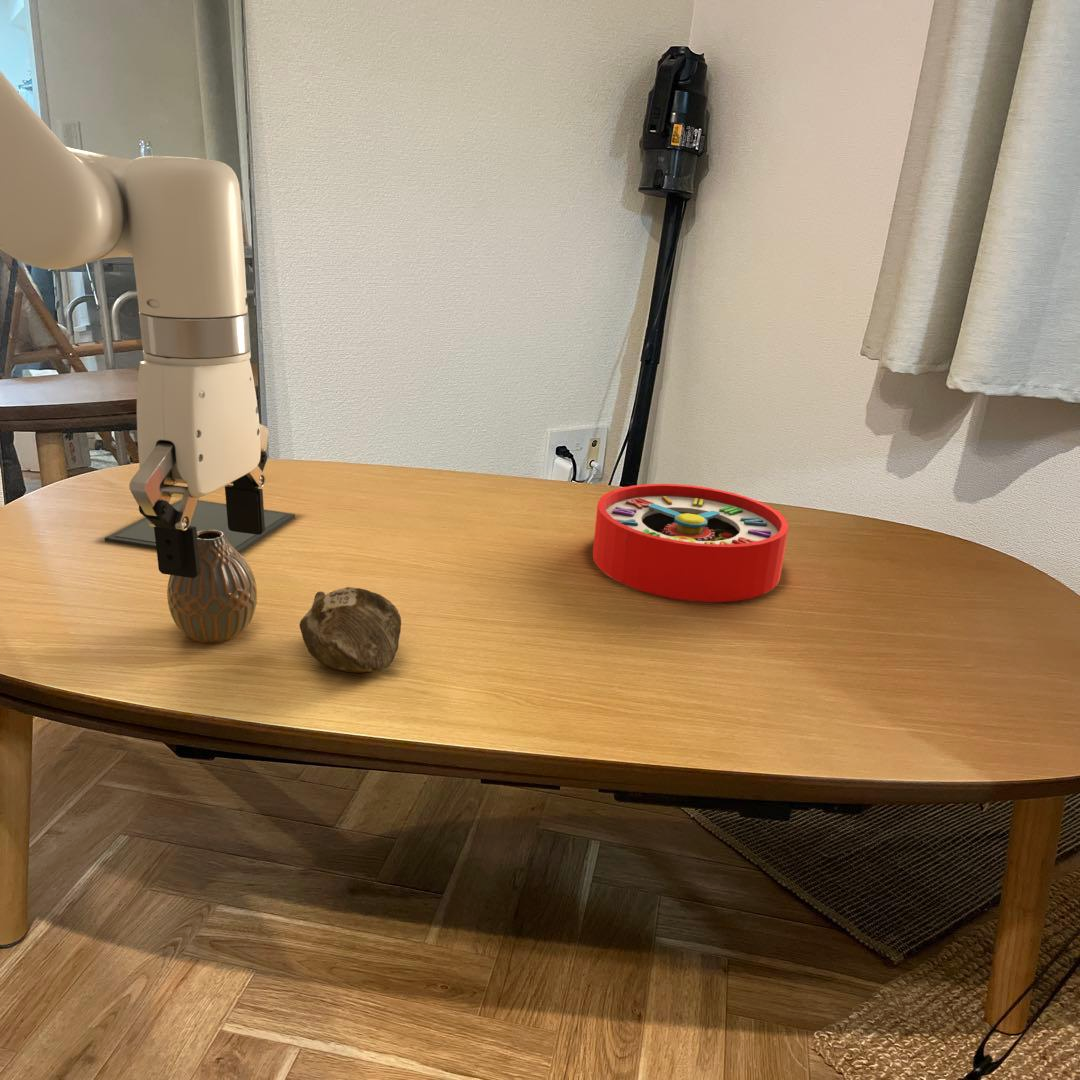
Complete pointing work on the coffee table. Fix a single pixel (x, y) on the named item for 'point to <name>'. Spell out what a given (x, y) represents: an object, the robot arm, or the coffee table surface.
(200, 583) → the vase
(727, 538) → the toy clock
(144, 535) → the mat
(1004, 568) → the coffee table surface
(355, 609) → the fossilized seashell
